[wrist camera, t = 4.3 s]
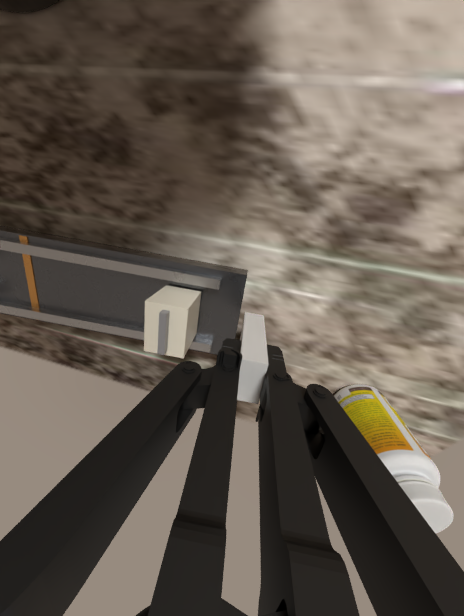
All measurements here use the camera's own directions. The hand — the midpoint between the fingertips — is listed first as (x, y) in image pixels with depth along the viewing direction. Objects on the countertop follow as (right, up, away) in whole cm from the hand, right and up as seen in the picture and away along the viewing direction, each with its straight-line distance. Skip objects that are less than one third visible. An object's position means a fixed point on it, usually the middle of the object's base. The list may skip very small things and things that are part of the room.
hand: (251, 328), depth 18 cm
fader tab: (-6, +1, +1) cm, 6 cm away
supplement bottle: (+12, -8, +6) cm, 16 cm away
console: (-14, +4, +4) cm, 15 cm away
